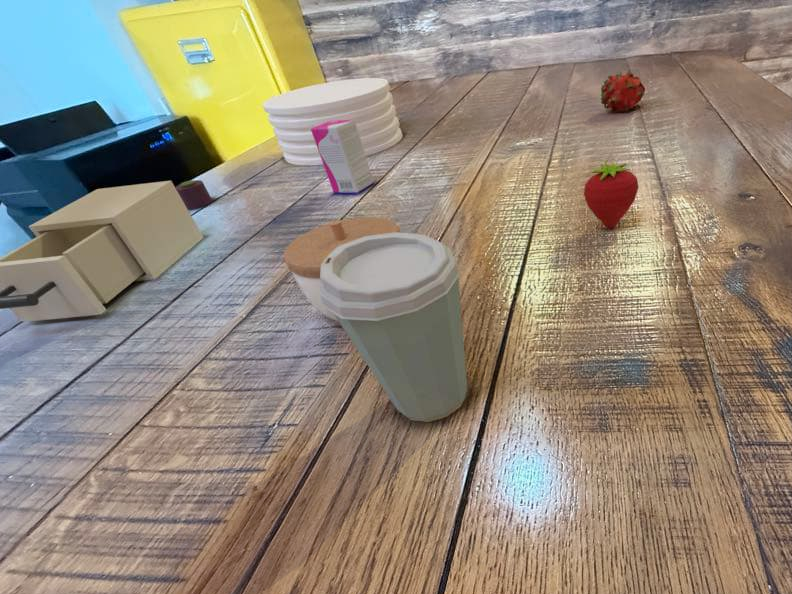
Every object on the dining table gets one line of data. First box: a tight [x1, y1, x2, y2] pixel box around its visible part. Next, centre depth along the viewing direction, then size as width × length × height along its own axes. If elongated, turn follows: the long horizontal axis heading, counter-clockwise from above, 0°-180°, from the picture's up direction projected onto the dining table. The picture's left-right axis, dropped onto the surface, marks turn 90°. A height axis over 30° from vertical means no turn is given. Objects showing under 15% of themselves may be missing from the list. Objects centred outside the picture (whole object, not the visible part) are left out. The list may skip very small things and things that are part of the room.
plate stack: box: [262, 77, 403, 166], centre depth 119 cm, size 28×28×12 cm
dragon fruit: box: [600, 71, 646, 114], centre depth 117 cm, size 8×8×12 cm
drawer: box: [0, 223, 144, 323], centre depth 68 cm, size 18×11×8 cm, turn 0°
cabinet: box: [28, 180, 204, 282], centre depth 78 cm, size 15×13×10 cm
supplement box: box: [311, 120, 375, 196], centre depth 93 cm, size 6×6×12 cm
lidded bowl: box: [283, 216, 401, 322], centre depth 58 cm, size 13×13×11 cm
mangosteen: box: [174, 179, 214, 211], centre depth 99 cm, size 5×5×4 cm
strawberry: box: [583, 154, 639, 229], centre depth 69 cm, size 6×8×10 cm
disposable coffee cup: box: [320, 232, 469, 423], centre depth 43 cm, size 11×11×15 cm
